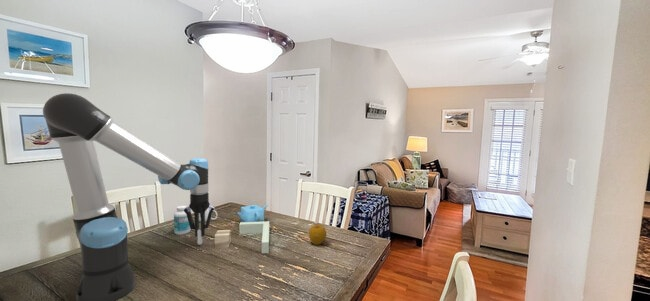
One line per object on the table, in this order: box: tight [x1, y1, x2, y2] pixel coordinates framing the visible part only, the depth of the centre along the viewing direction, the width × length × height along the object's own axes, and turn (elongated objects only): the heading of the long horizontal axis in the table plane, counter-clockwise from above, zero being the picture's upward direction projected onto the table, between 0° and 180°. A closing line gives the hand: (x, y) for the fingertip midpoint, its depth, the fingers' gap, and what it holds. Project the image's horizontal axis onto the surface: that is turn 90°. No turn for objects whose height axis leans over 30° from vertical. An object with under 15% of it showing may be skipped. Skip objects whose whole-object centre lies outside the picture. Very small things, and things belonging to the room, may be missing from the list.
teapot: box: [236, 204, 269, 222], centre depth 150 cm, size 16×18×11 cm
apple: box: [308, 224, 327, 246], centre depth 129 cm, size 8×8×9 cm
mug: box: [199, 208, 219, 223], centre depth 155 cm, size 12×8×8 cm
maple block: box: [214, 229, 232, 249], centre depth 125 cm, size 6×6×6 cm
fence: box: [238, 220, 270, 254], centre depth 129 cm, size 26×15×5 cm, turn 11°
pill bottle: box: [173, 205, 191, 236], centre depth 137 cm, size 8×7×14 cm
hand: (200, 243), depth 123 cm, fingers closed
